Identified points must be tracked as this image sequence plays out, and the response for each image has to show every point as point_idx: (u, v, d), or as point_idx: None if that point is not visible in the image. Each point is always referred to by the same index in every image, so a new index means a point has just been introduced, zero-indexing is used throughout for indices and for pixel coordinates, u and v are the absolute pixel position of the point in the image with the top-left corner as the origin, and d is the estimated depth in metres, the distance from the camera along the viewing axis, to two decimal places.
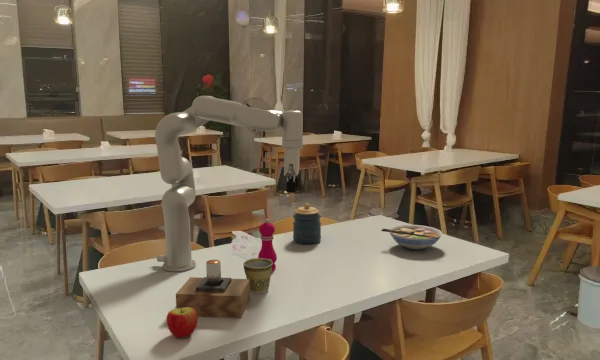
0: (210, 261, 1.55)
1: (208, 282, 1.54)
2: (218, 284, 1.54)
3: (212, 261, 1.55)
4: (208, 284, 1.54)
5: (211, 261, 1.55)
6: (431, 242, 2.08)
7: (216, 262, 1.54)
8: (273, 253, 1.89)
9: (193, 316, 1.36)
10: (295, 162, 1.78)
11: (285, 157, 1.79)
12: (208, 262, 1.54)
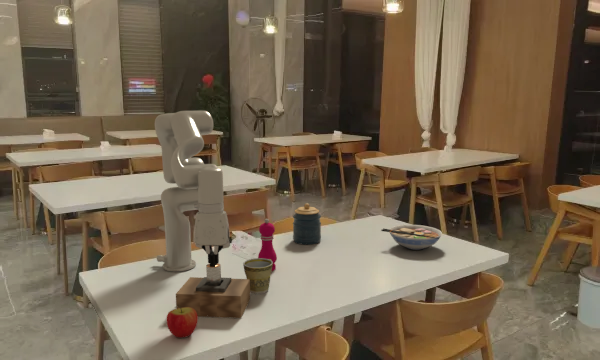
0: None
1: (208, 285, 1.54)
2: None
3: None
4: None
5: None
6: (431, 242, 2.08)
7: (216, 265, 1.54)
8: (273, 253, 1.89)
9: (193, 316, 1.36)
10: (228, 226, 1.54)
11: (225, 223, 1.50)
12: (208, 265, 1.54)
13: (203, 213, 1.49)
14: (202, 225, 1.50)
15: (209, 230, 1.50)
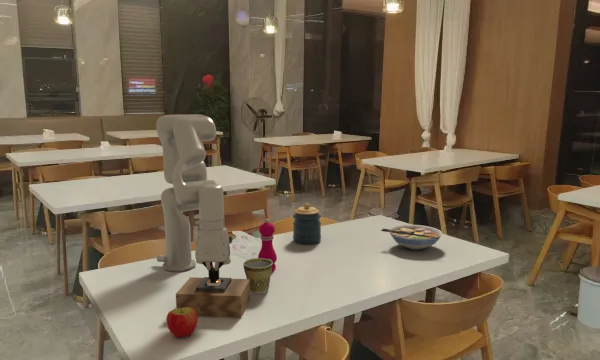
0: None
1: None
2: None
3: None
4: None
5: None
6: (431, 242, 2.08)
7: (217, 281, 1.55)
8: (273, 253, 1.89)
9: (193, 316, 1.36)
10: None
11: (225, 240, 1.51)
12: (209, 281, 1.55)
13: (204, 230, 1.49)
14: (203, 242, 1.51)
15: (210, 247, 1.51)
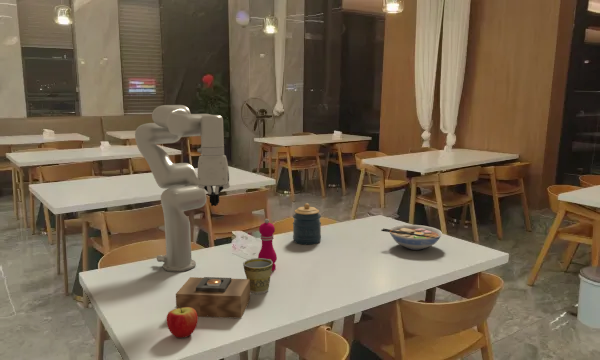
0: (211, 281, 1.56)
1: None
2: None
3: (213, 281, 1.56)
4: None
5: (212, 281, 1.56)
6: (431, 242, 2.08)
7: (217, 282, 1.55)
8: (273, 253, 1.89)
9: (193, 316, 1.36)
10: (228, 169, 1.69)
11: (225, 165, 1.65)
12: (209, 282, 1.55)
13: (205, 156, 1.64)
14: (204, 167, 1.65)
15: (211, 171, 1.65)
